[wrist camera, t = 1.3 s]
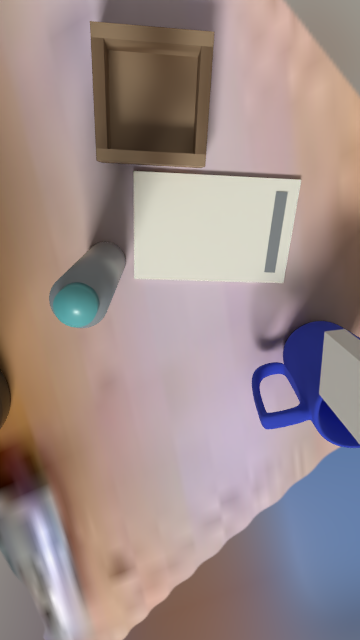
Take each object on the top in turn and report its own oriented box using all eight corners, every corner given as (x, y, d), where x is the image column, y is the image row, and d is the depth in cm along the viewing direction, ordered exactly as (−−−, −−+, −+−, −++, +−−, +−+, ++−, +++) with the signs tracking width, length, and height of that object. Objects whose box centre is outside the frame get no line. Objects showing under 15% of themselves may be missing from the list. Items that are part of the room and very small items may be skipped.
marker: (88, 278, 30) (47, 334, 19) (86, 241, 29) (40, 277, 18) (125, 279, 30) (106, 335, 19) (125, 242, 29) (104, 279, 18)
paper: (134, 277, 30) (134, 278, 30) (133, 171, 27) (133, 170, 26) (282, 282, 31) (283, 283, 31) (299, 179, 28) (301, 179, 27)
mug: (229, 332, 33) (256, 390, 24) (348, 301, 32) (422, 348, 23) (244, 397, 36) (273, 470, 27) (352, 369, 36) (419, 434, 26)
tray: (102, 162, 26) (96, 160, 24) (97, 38, 23) (90, 21, 21) (200, 167, 27) (204, 166, 24) (208, 47, 24) (214, 31, 21)
